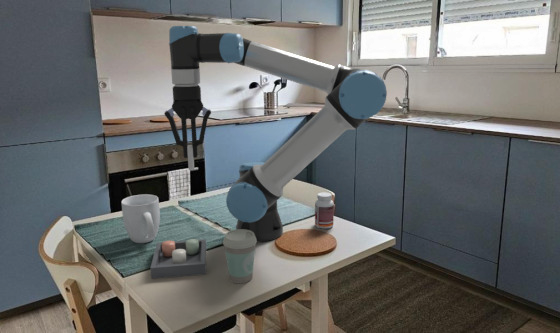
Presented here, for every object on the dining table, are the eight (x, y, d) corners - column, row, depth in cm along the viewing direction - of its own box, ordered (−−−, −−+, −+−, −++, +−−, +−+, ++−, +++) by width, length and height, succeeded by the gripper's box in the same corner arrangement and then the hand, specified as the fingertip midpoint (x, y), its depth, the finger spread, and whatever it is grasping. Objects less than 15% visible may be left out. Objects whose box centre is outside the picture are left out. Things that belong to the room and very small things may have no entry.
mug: (171, 245, 135) (168, 204, 132) (134, 254, 129) (130, 211, 126) (155, 229, 147) (152, 192, 144) (121, 237, 141) (117, 198, 138)
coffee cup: (244, 289, 110) (243, 244, 107) (217, 280, 114) (215, 237, 111) (264, 275, 117) (263, 232, 114) (237, 267, 121) (236, 225, 118)
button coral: (176, 250, 128) (175, 240, 127) (175, 255, 125) (174, 245, 124) (163, 251, 128) (162, 241, 127) (161, 256, 124) (161, 246, 123)
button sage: (199, 248, 129) (198, 238, 128) (199, 254, 126) (198, 243, 125) (186, 249, 129) (185, 239, 128) (186, 255, 125) (185, 244, 124)
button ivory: (186, 259, 123) (186, 248, 122) (186, 265, 119) (185, 254, 118) (173, 260, 122) (172, 249, 121) (172, 266, 119) (171, 255, 118)
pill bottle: (337, 225, 149) (337, 194, 147) (325, 230, 145) (325, 198, 143) (322, 220, 154) (323, 190, 151) (311, 225, 150) (311, 194, 147)
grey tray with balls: (206, 248, 133) (205, 239, 132) (206, 274, 117) (205, 263, 117) (157, 252, 131) (157, 242, 130) (151, 278, 115) (150, 268, 115)
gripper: (210, 83, 126) (214, 164, 132) (163, 84, 124) (169, 166, 130) (210, 85, 119) (214, 170, 125) (160, 86, 117) (166, 173, 123)
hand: (191, 168), depth 128 cm, fingers closed
